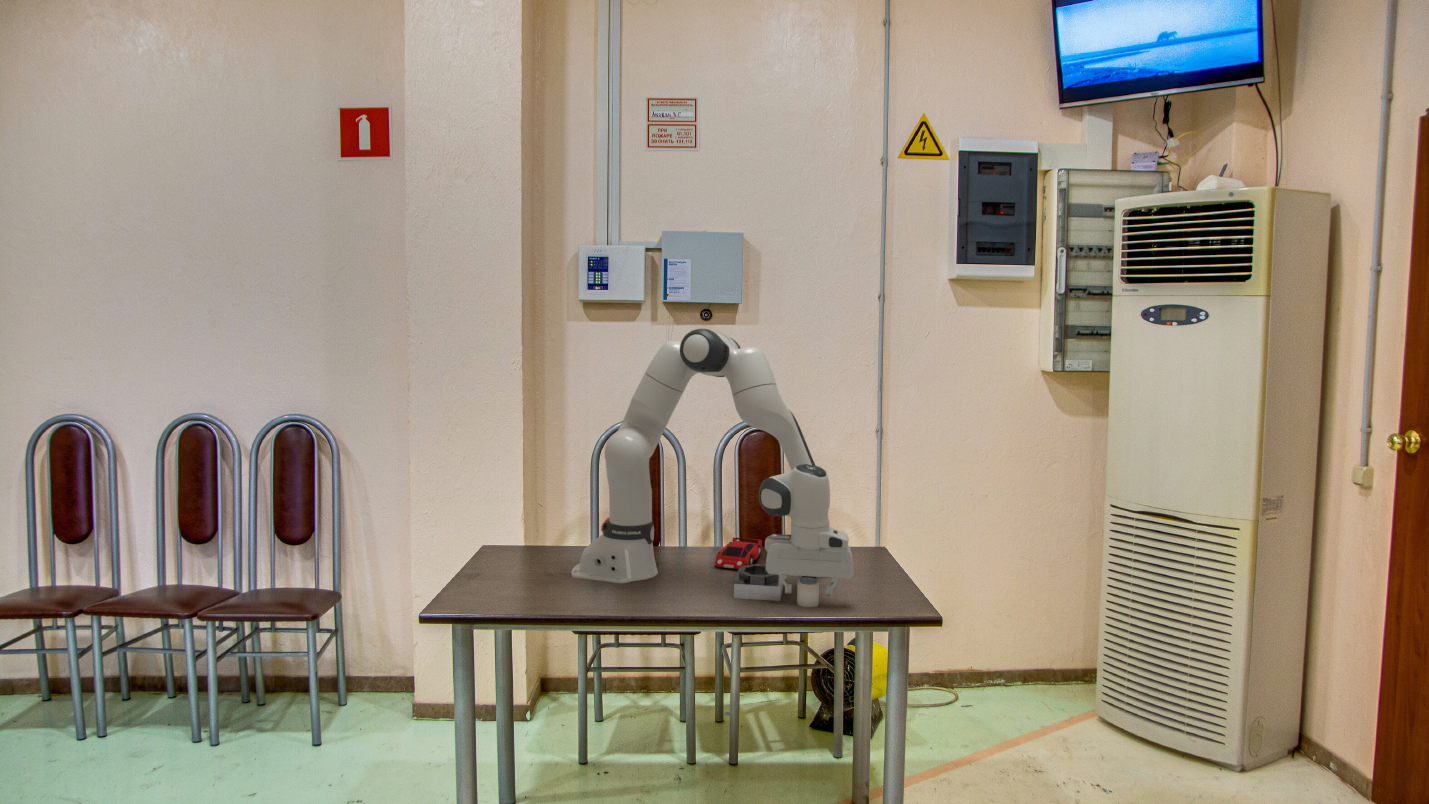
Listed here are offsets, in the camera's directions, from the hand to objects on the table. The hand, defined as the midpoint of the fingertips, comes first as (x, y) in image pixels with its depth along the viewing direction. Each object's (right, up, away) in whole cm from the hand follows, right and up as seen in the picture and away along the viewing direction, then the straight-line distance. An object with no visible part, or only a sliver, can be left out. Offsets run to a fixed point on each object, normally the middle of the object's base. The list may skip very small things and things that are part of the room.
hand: (808, 593), depth 182 cm
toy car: (-15, 0, +36) cm, 39 cm away
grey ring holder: (-11, -2, +8) cm, 14 cm away
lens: (0, -3, 0) cm, 3 cm away
